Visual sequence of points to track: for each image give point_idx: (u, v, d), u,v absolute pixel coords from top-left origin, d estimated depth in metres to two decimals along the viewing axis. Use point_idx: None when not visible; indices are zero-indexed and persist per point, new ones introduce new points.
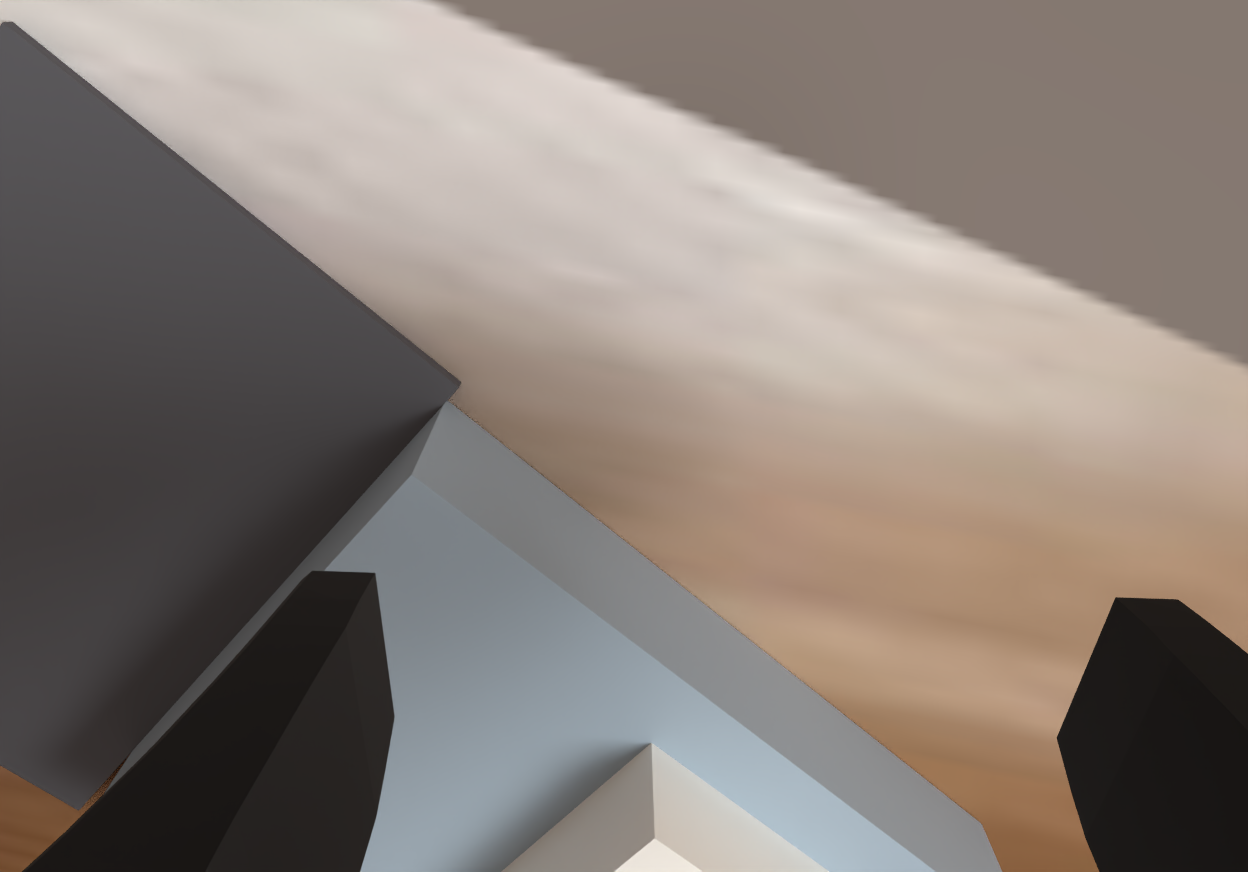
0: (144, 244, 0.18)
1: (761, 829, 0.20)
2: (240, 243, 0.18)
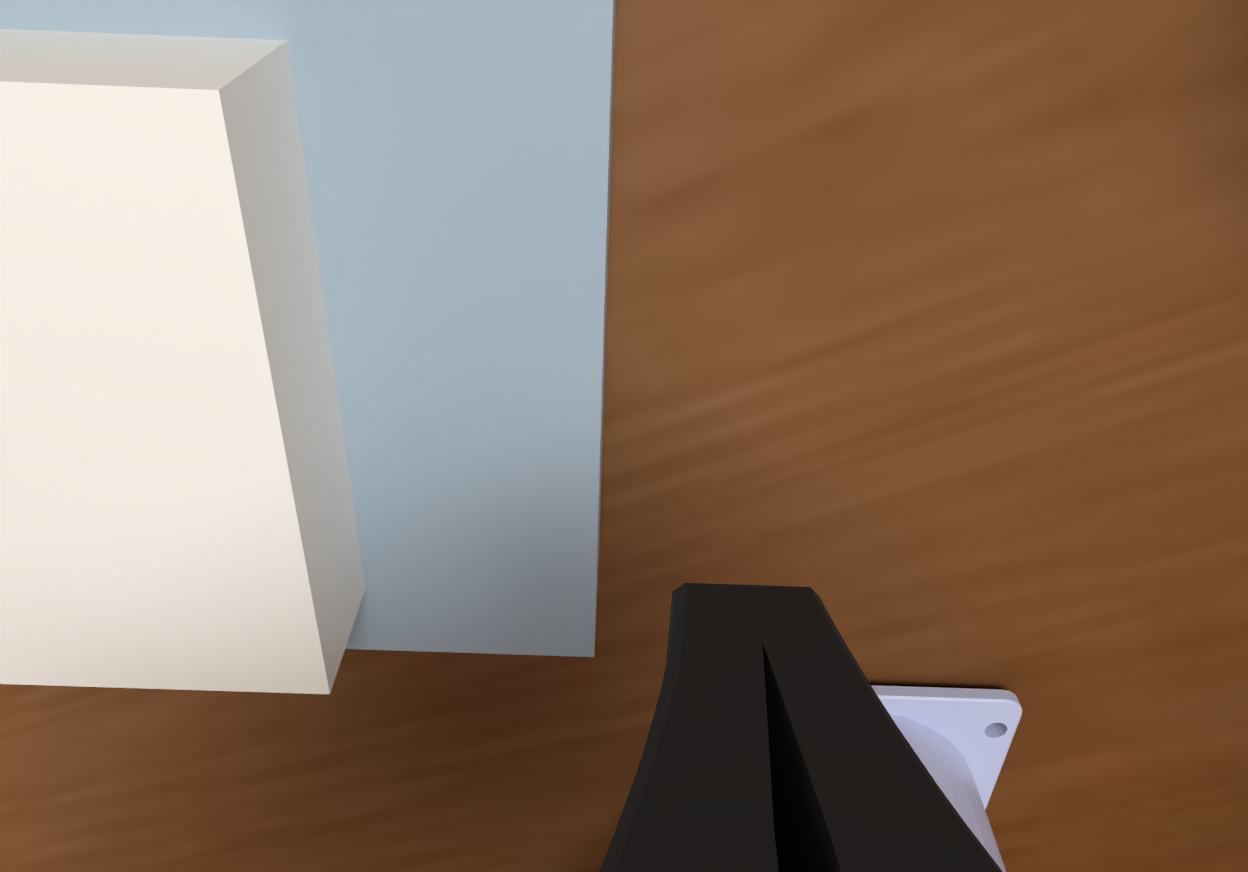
0: None
1: (35, 34, 0.12)
2: None
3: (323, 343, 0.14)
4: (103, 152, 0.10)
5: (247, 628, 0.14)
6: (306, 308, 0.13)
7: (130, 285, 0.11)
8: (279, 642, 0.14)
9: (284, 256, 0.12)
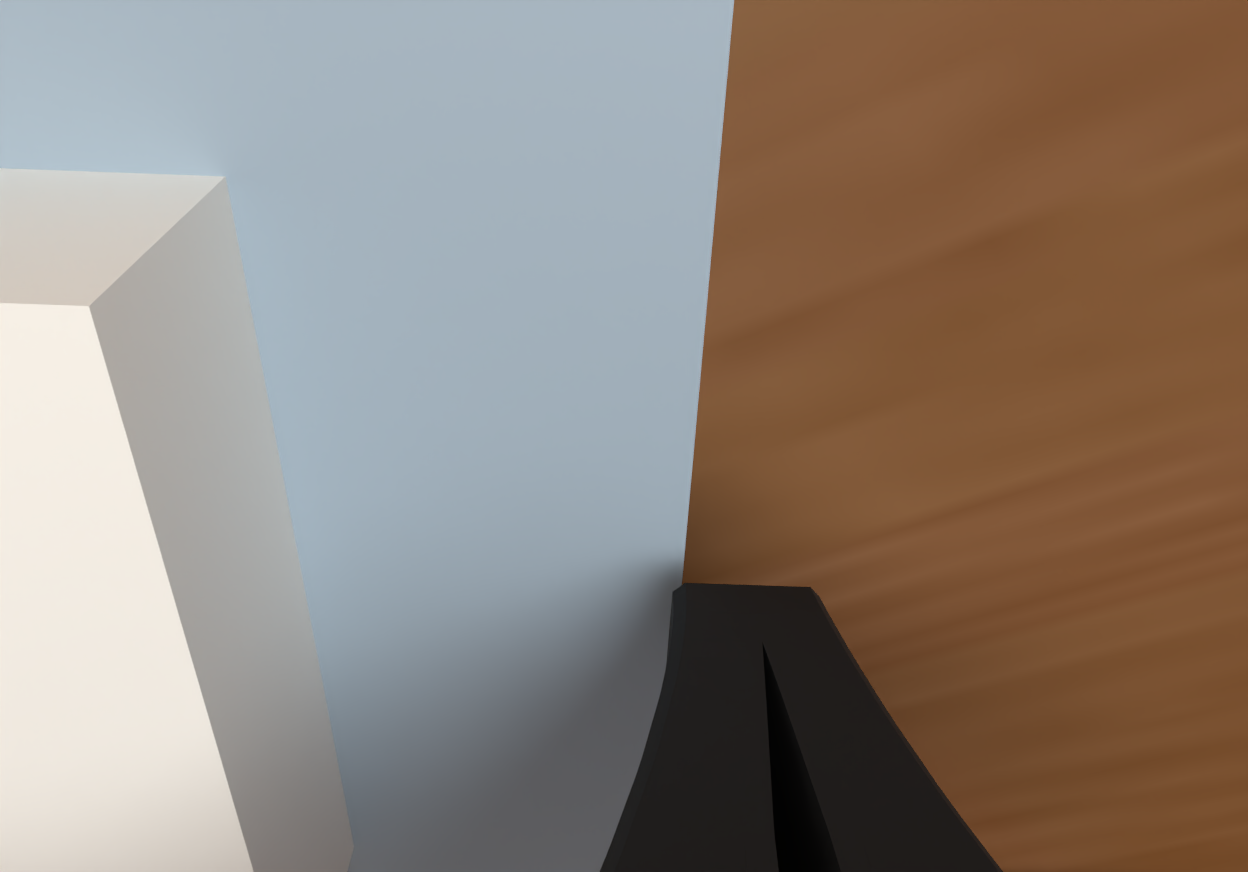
0: None
1: None
2: None
3: (290, 577, 0.10)
4: None
5: None
6: (261, 548, 0.09)
7: None
8: None
9: (222, 498, 0.08)
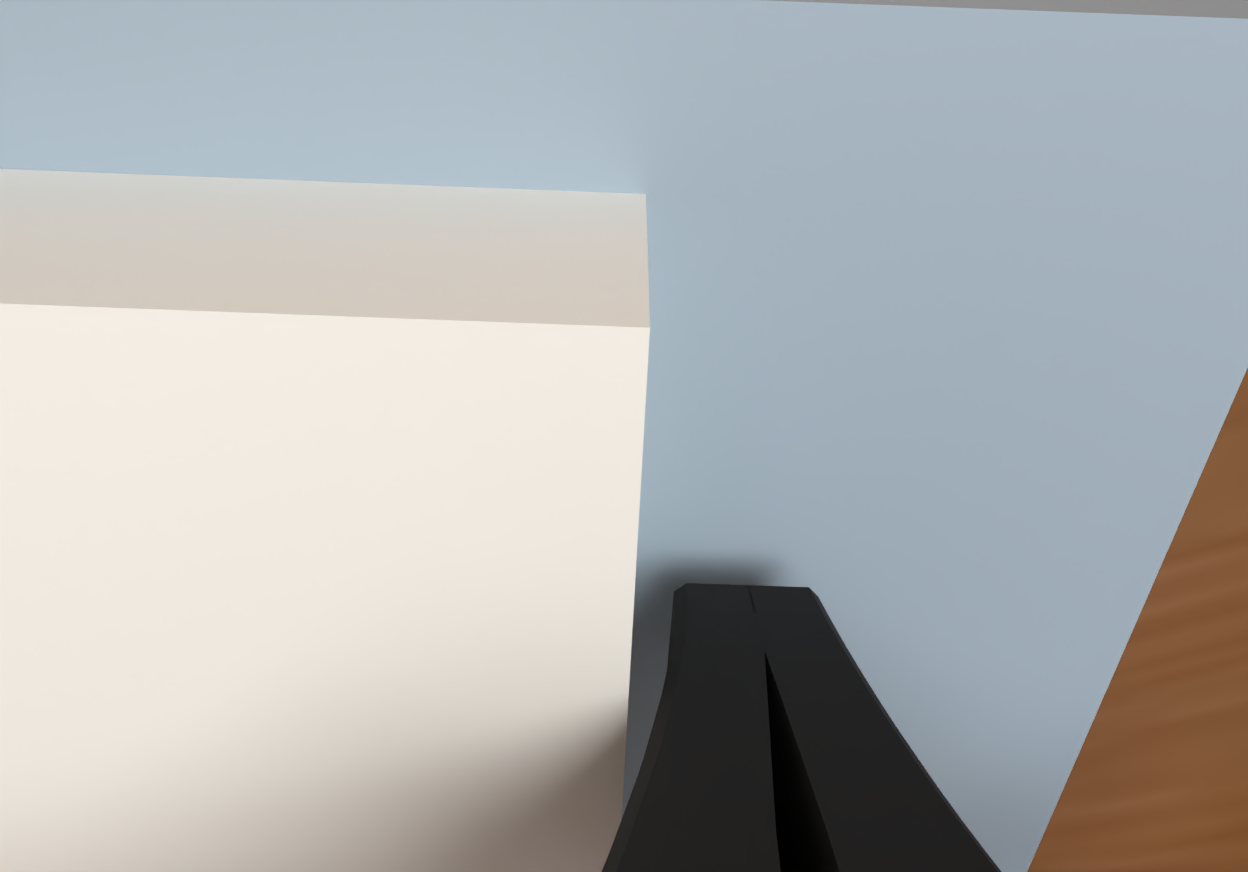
0: None
1: (273, 188, 0.08)
2: None
3: None
4: (437, 416, 0.06)
5: None
6: None
7: (441, 594, 0.07)
8: None
9: None
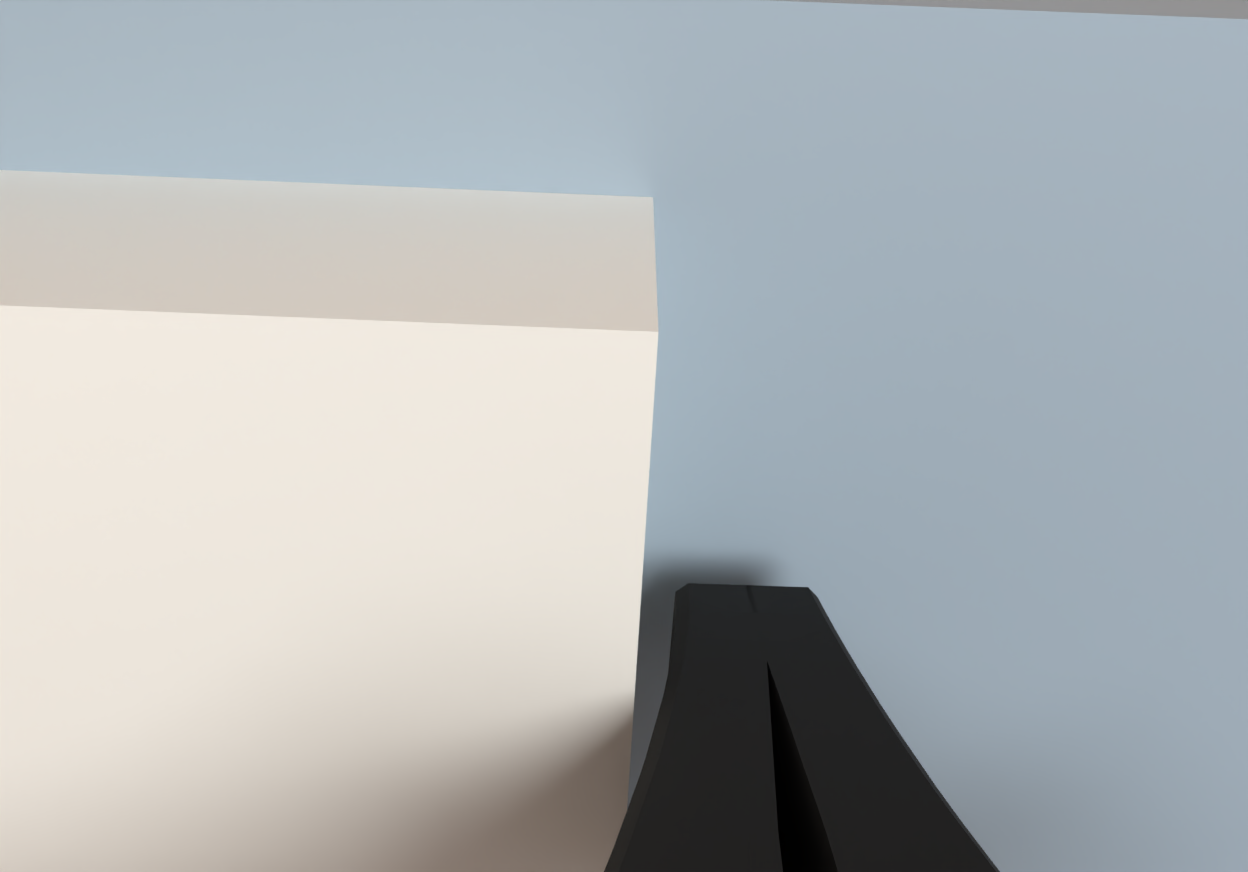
0: None
1: (281, 190, 0.08)
2: None
3: None
4: (444, 419, 0.06)
5: None
6: None
7: (448, 594, 0.07)
8: None
9: None
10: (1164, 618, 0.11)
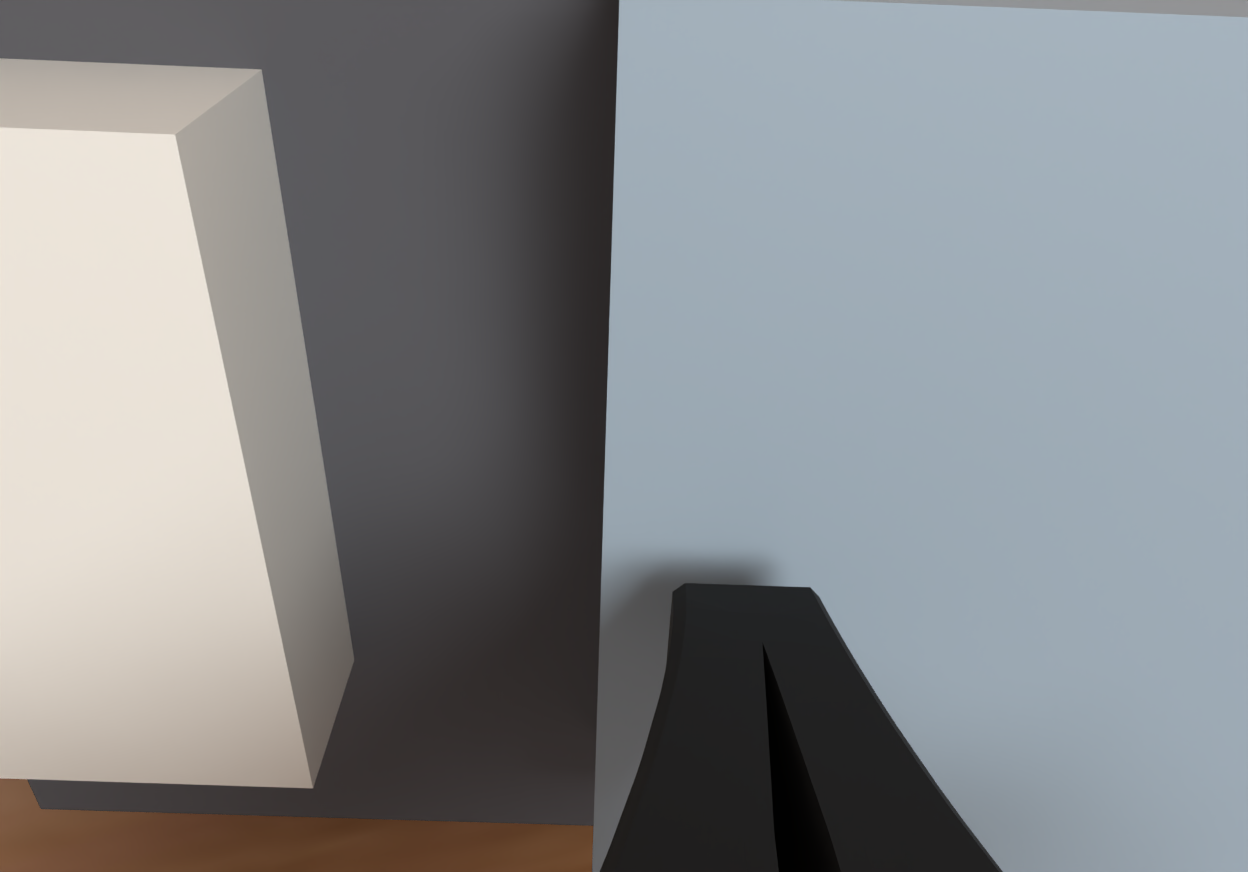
0: (41, 40, 0.10)
1: None
2: None
3: None
4: None
5: None
6: None
7: None
8: None
9: None
10: None
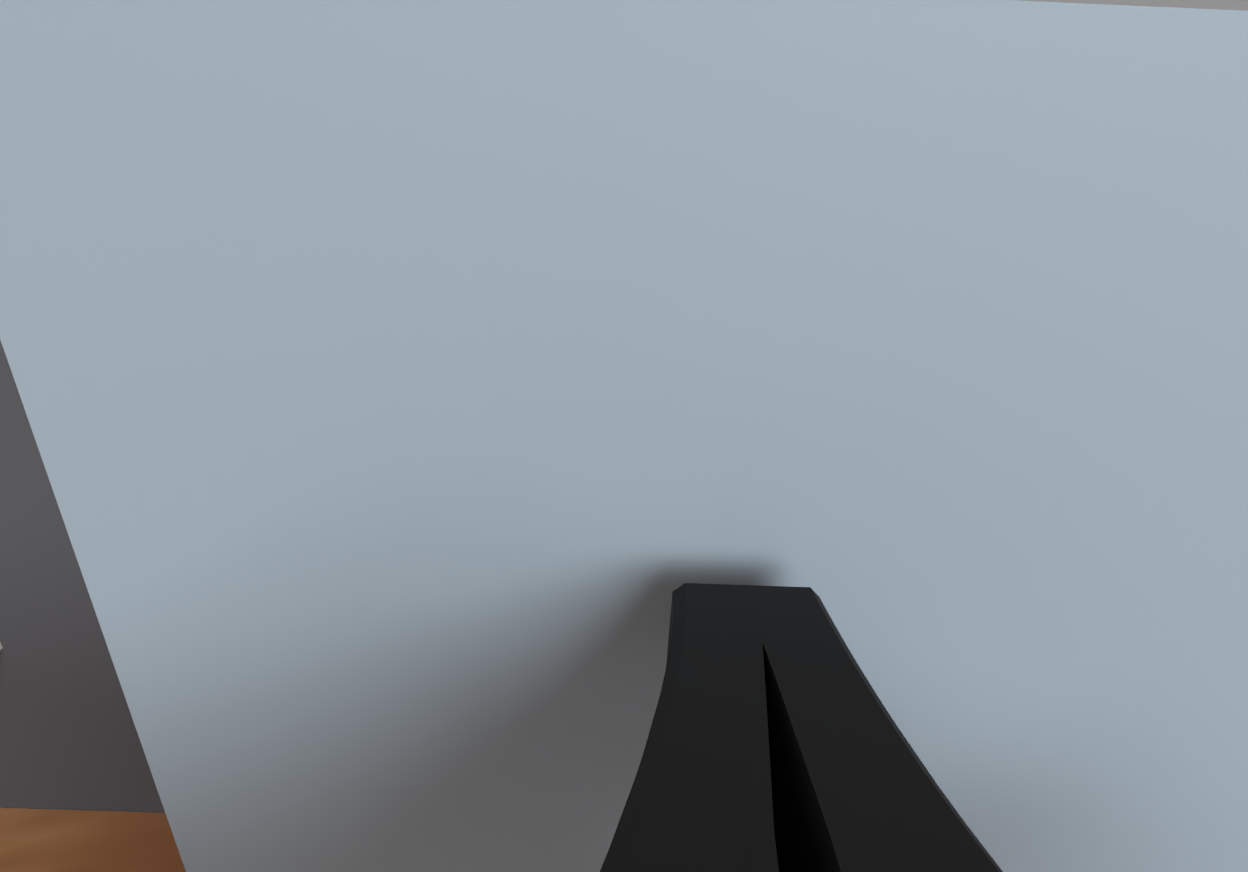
0: None
1: None
2: None
3: None
4: None
5: None
6: None
7: None
8: None
9: None
10: (1156, 618, 0.11)
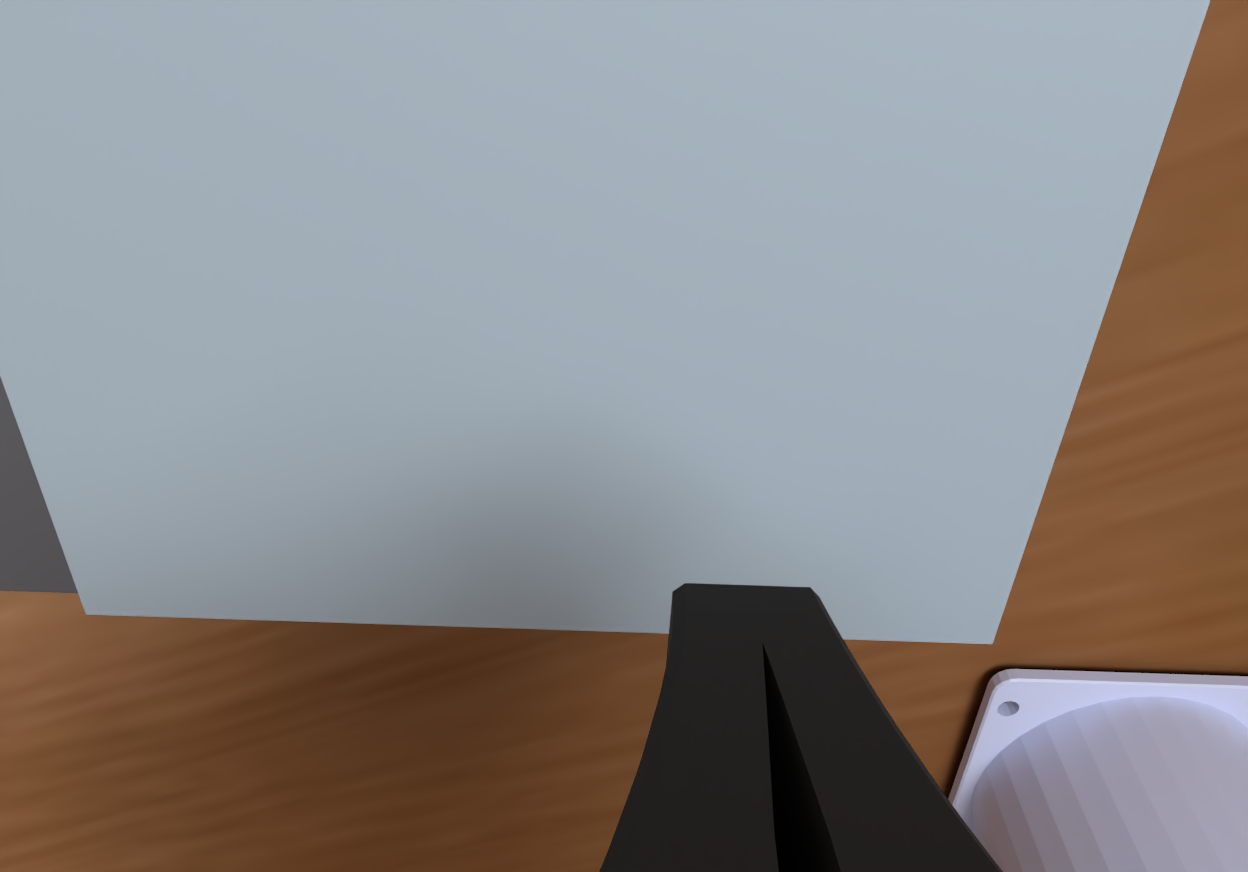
0: None
1: None
2: None
3: None
4: None
5: None
6: None
7: None
8: None
9: None
10: (724, 353, 0.15)
